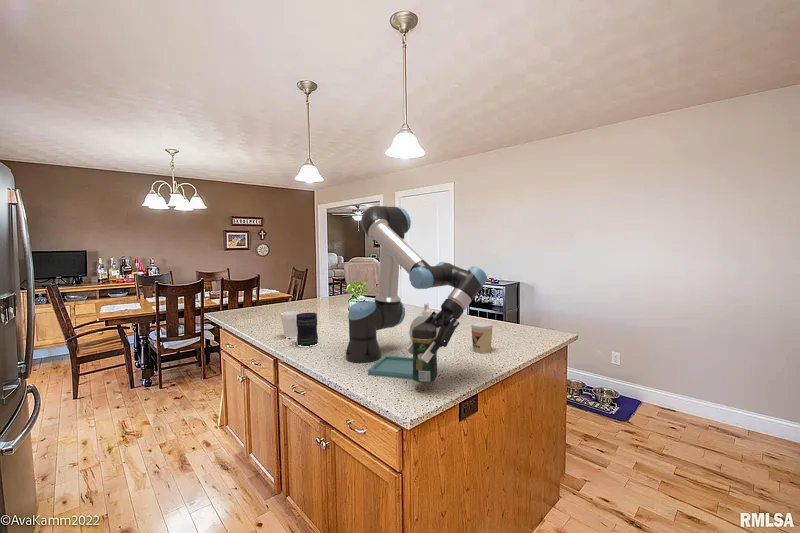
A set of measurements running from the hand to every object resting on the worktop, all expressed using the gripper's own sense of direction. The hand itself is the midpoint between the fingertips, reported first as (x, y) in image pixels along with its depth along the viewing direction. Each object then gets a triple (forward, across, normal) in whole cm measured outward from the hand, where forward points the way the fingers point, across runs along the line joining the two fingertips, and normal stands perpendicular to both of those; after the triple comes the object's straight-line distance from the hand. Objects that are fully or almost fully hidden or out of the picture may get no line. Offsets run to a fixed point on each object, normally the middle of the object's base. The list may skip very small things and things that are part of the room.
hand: (416, 356), depth 124 cm
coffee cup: (-25, +23, -42) cm, 53 cm away
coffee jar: (+4, 0, -8) cm, 9 cm away
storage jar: (+22, +73, +5) cm, 76 cm away
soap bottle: (-13, +43, -30) cm, 54 cm away
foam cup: (+25, +91, +8) cm, 95 cm away
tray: (+6, +21, -11) cm, 24 cm away
